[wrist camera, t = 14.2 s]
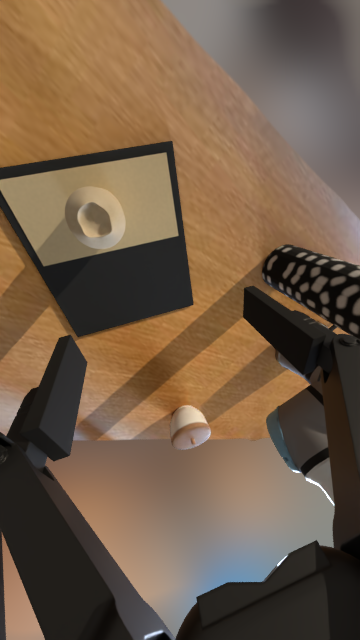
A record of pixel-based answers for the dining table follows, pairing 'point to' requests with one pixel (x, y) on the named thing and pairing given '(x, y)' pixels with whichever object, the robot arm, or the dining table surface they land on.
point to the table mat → (114, 262)
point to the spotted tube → (317, 284)
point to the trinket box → (188, 428)
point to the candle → (95, 217)
